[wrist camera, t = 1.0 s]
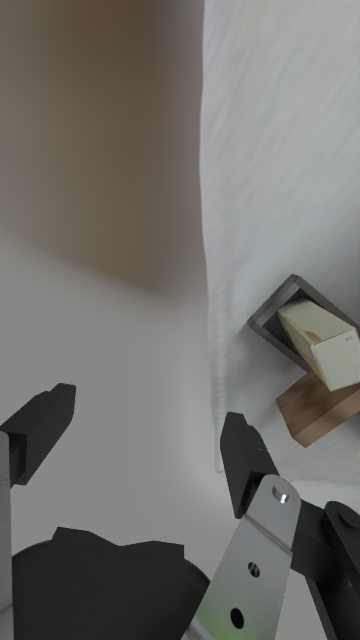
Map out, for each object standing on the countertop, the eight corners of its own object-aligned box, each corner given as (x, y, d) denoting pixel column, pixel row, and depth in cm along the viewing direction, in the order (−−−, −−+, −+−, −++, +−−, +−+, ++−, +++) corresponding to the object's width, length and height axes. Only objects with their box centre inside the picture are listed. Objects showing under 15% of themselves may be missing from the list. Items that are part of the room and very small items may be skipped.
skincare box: (273, 308, 33) (307, 343, 22) (303, 295, 32) (355, 324, 20) (290, 344, 35) (330, 394, 23) (318, 332, 33) (376, 378, 22)
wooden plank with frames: (336, 227, 29) (381, 221, 21) (483, 359, 32) (568, 394, 24) (215, 353, 37) (217, 382, 29) (342, 449, 40) (373, 498, 32)
